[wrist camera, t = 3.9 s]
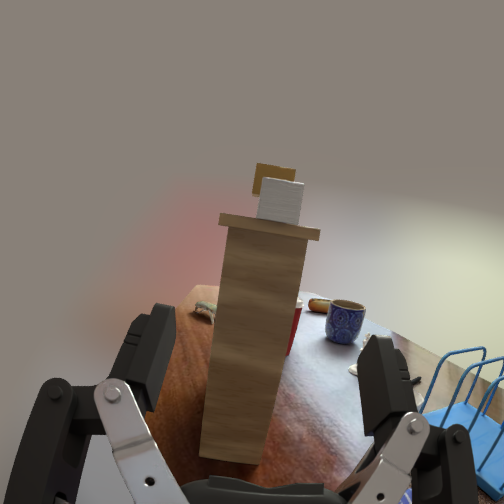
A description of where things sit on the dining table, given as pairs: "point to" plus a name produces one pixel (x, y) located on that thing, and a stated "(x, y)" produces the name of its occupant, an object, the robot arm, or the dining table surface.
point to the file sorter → (475, 427)
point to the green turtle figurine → (207, 308)
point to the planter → (344, 321)
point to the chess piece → (354, 367)
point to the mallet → (277, 194)
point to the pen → (415, 380)
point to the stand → (251, 334)
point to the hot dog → (319, 305)
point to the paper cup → (295, 323)
